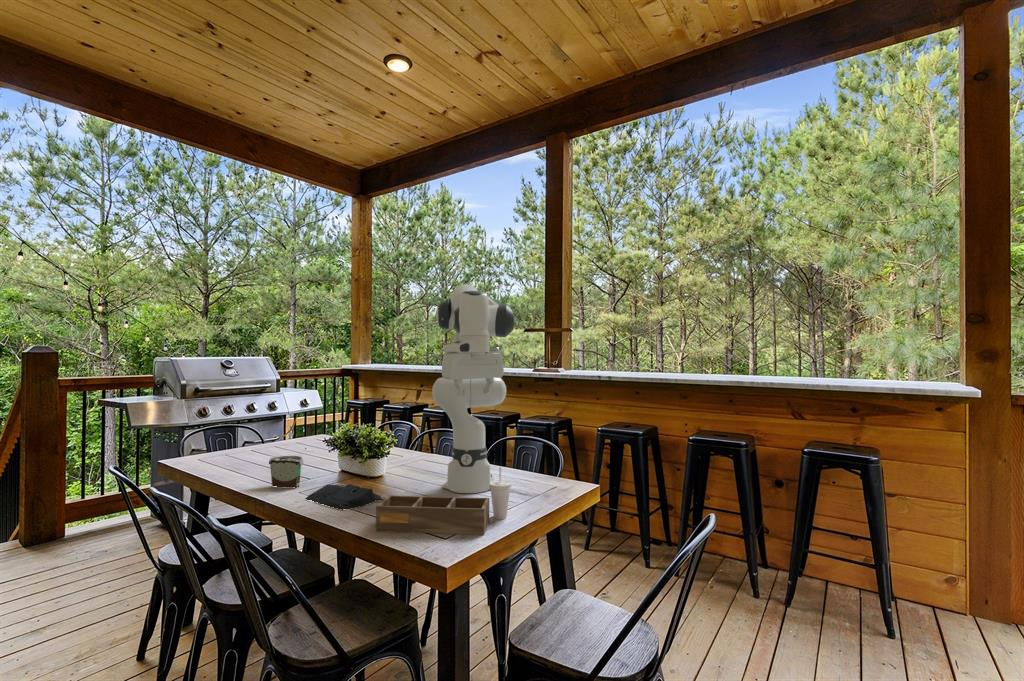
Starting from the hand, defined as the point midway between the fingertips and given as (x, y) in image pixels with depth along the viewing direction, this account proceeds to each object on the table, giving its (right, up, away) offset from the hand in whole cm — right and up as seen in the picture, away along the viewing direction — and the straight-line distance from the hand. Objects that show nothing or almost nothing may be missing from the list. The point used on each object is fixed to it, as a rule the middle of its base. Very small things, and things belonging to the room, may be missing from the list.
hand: (474, 394), depth 143 cm
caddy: (-10, -35, -8) cm, 37 cm away
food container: (-68, -36, +33) cm, 84 cm away
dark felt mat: (-43, -36, +17) cm, 59 cm away
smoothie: (+7, -35, 0) cm, 36 cm away
